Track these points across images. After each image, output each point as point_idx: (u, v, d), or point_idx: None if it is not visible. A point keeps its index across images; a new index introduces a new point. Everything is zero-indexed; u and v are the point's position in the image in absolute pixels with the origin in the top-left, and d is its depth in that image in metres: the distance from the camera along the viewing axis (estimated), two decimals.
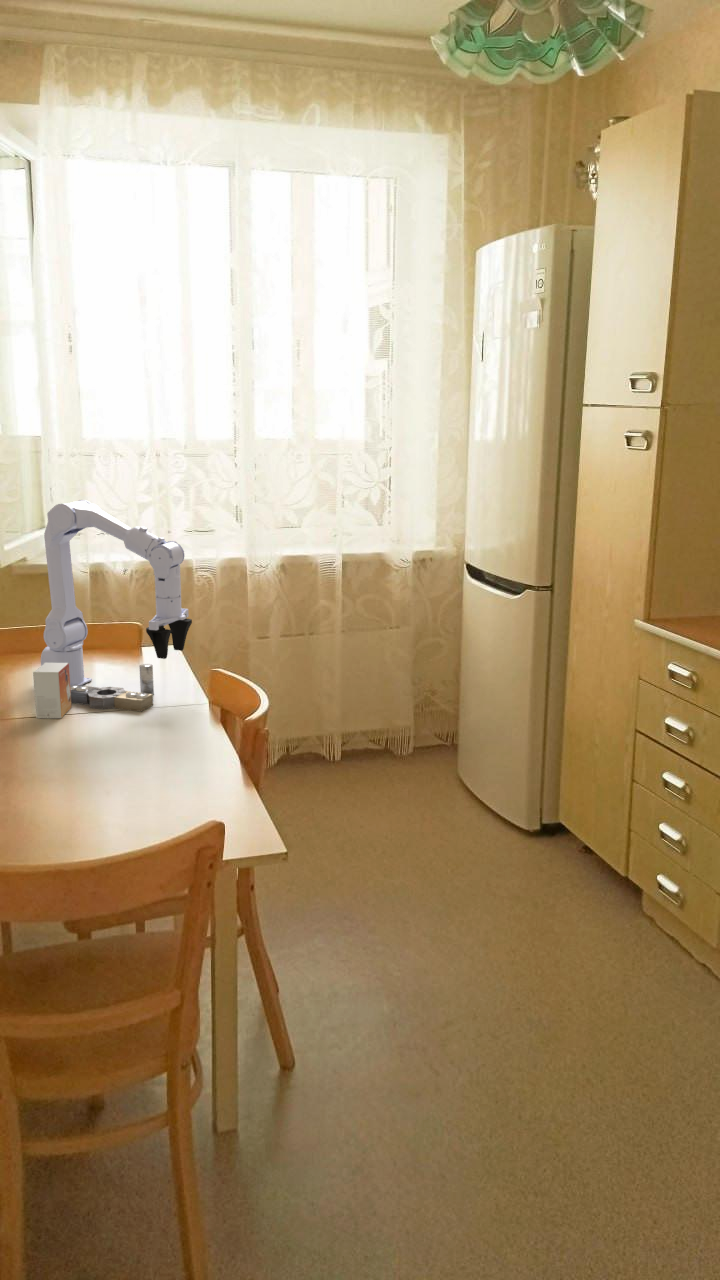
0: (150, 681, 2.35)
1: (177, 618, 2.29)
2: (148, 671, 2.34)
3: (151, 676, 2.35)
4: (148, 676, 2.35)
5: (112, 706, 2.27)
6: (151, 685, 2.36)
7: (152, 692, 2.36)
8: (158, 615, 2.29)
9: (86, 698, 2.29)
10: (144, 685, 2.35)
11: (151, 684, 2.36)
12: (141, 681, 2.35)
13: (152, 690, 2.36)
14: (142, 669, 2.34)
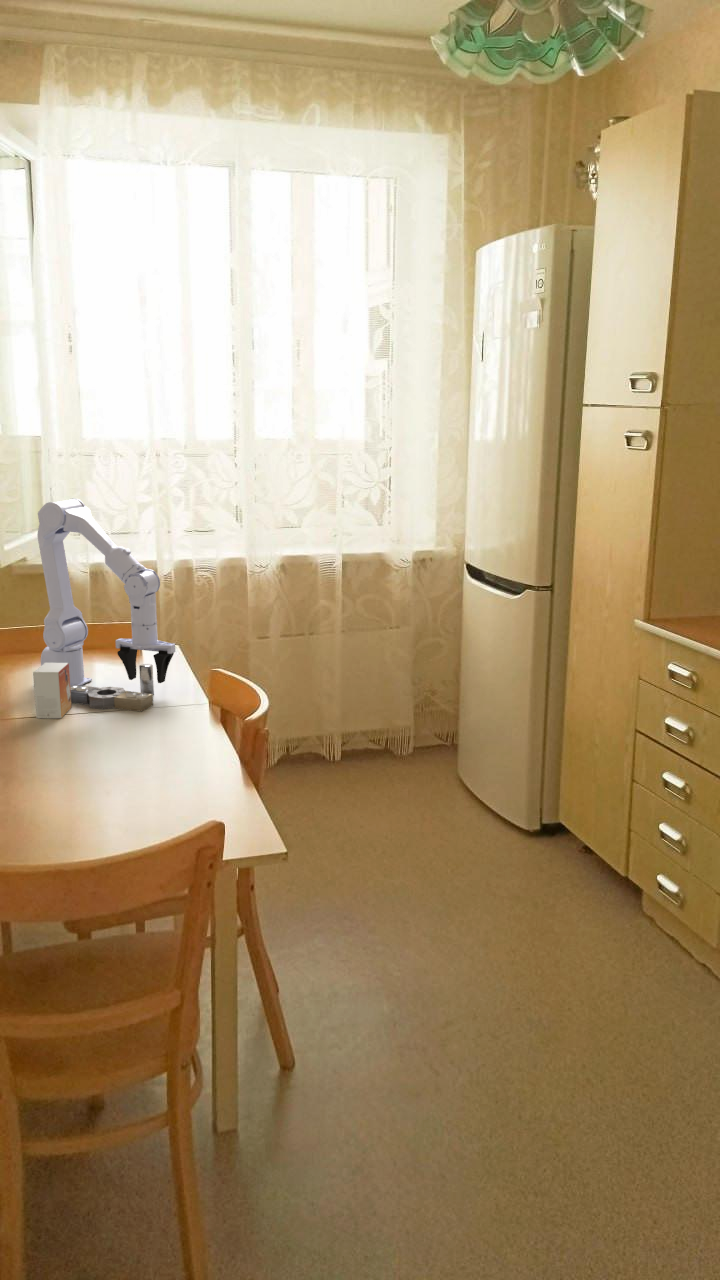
0: (150, 681, 2.35)
1: None
2: (148, 671, 2.34)
3: (151, 676, 2.35)
4: (148, 676, 2.35)
5: (112, 706, 2.27)
6: (151, 685, 2.36)
7: (152, 692, 2.36)
8: None
9: (86, 698, 2.29)
10: (144, 685, 2.35)
11: (151, 684, 2.36)
12: (141, 681, 2.35)
13: (152, 690, 2.36)
14: (142, 669, 2.34)
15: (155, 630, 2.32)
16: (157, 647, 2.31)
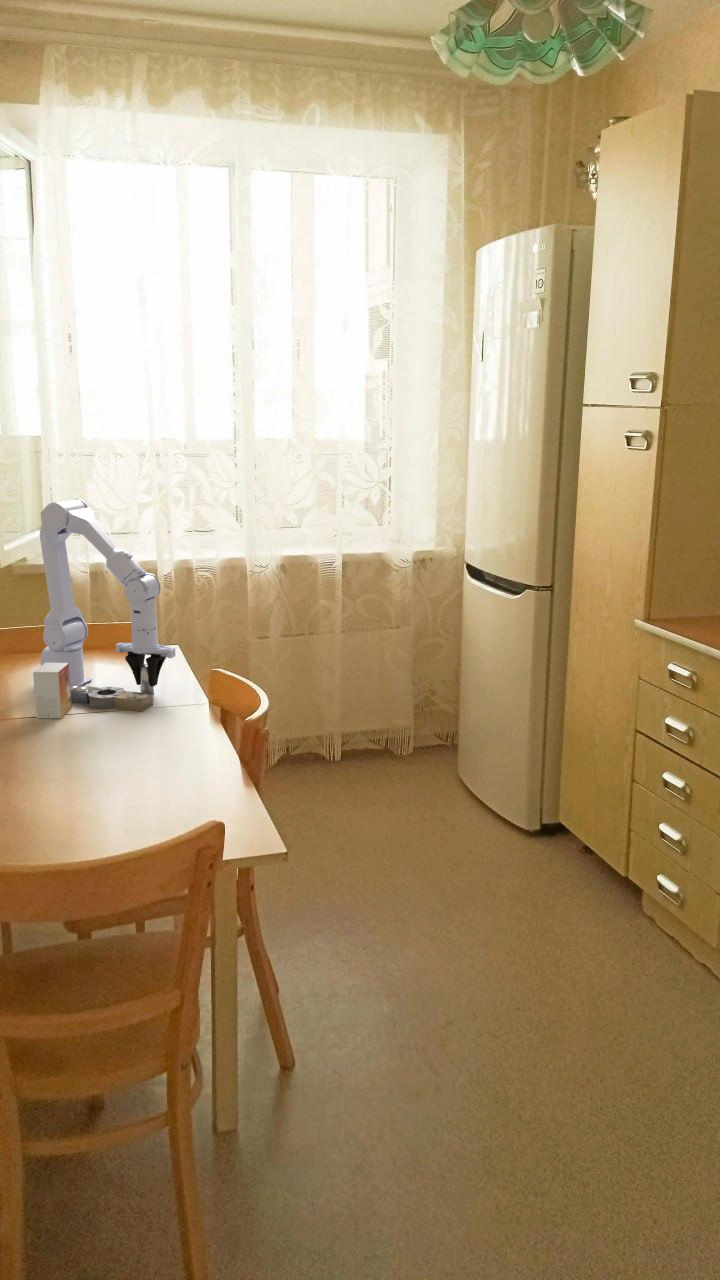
0: None
1: (133, 650, 2.32)
2: (148, 671, 2.34)
3: None
4: (148, 676, 2.35)
5: (112, 706, 2.27)
6: None
7: (152, 692, 2.36)
8: None
9: (86, 698, 2.29)
10: (144, 685, 2.35)
11: None
12: (141, 681, 2.35)
13: (152, 690, 2.36)
14: (142, 669, 2.34)
15: (155, 634, 2.33)
16: (157, 651, 2.31)
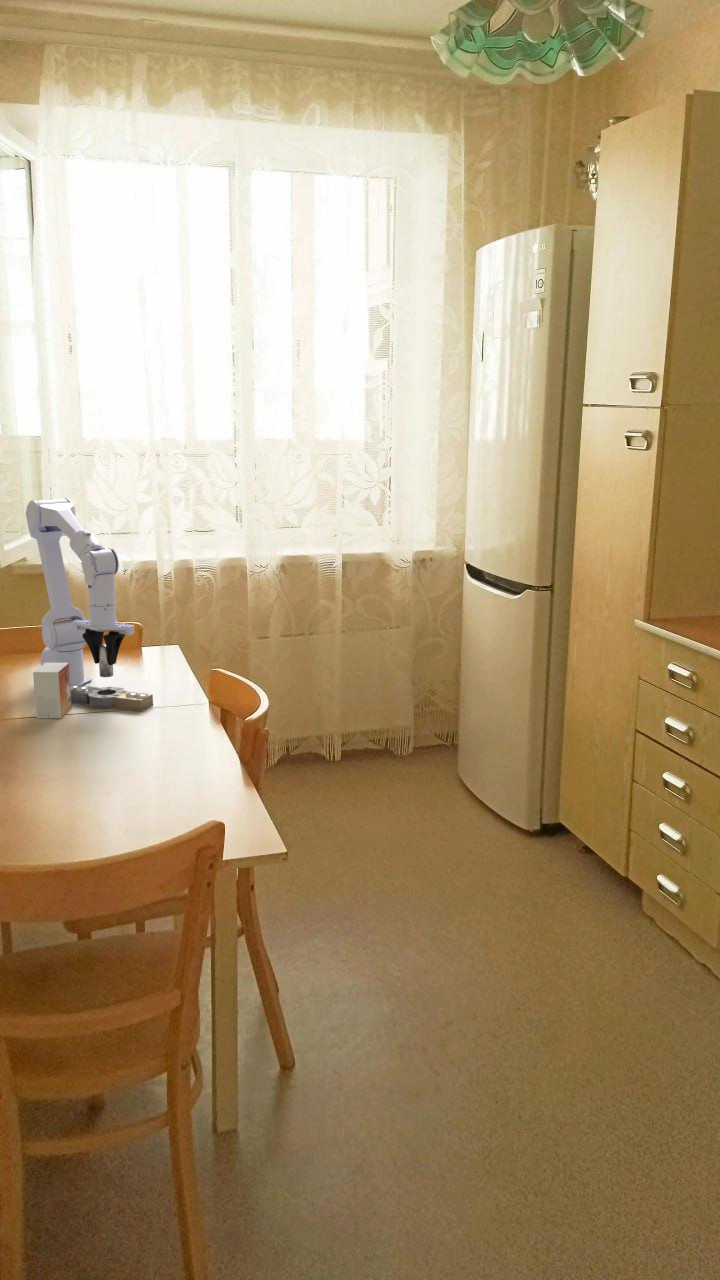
0: None
1: None
2: (106, 651, 2.26)
3: None
4: (106, 656, 2.27)
5: (112, 706, 2.27)
6: (110, 666, 2.27)
7: (111, 673, 2.28)
8: None
9: (86, 698, 2.29)
10: (102, 665, 2.27)
11: None
12: (99, 661, 2.27)
13: (111, 671, 2.28)
14: (100, 649, 2.26)
15: (114, 610, 2.24)
16: (115, 628, 2.23)
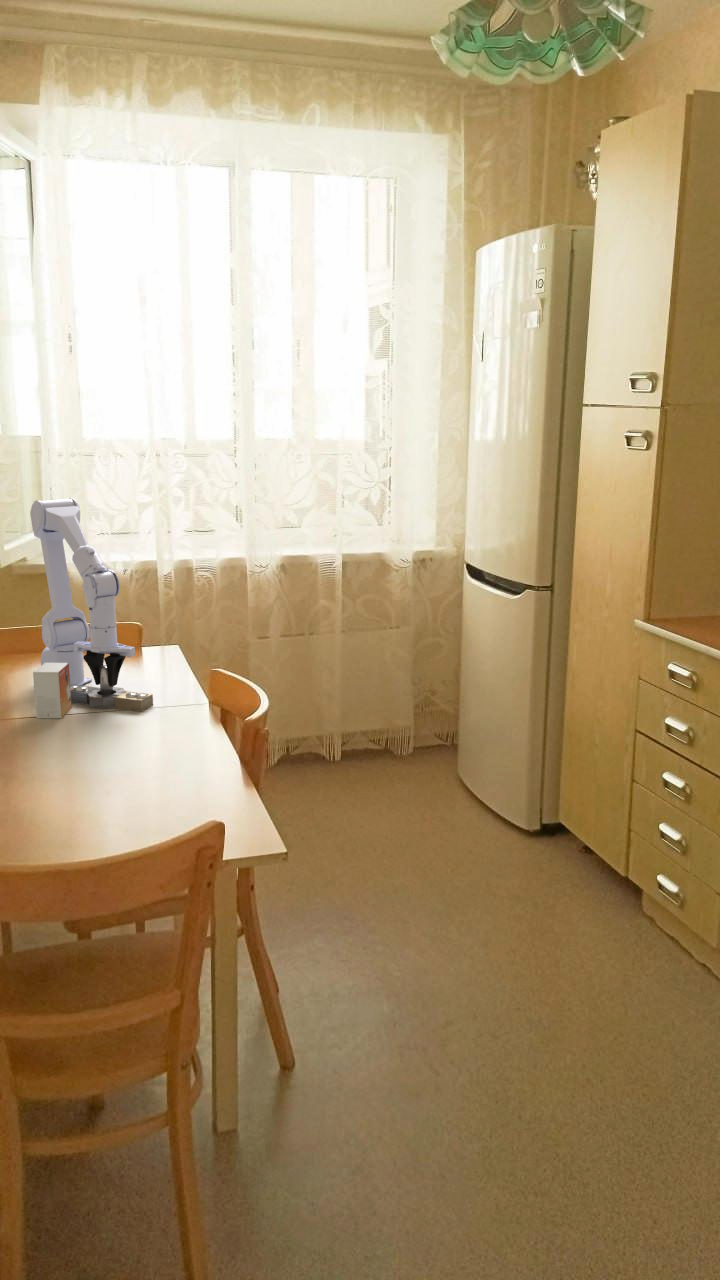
0: None
1: None
2: (106, 672, 2.27)
3: None
4: (107, 678, 2.28)
5: (112, 706, 2.27)
6: (110, 687, 2.29)
7: None
8: None
9: (86, 698, 2.29)
10: (103, 686, 2.28)
11: (110, 686, 2.29)
12: (100, 682, 2.28)
13: (112, 692, 2.29)
14: (100, 670, 2.27)
15: (114, 632, 2.26)
16: (116, 650, 2.24)
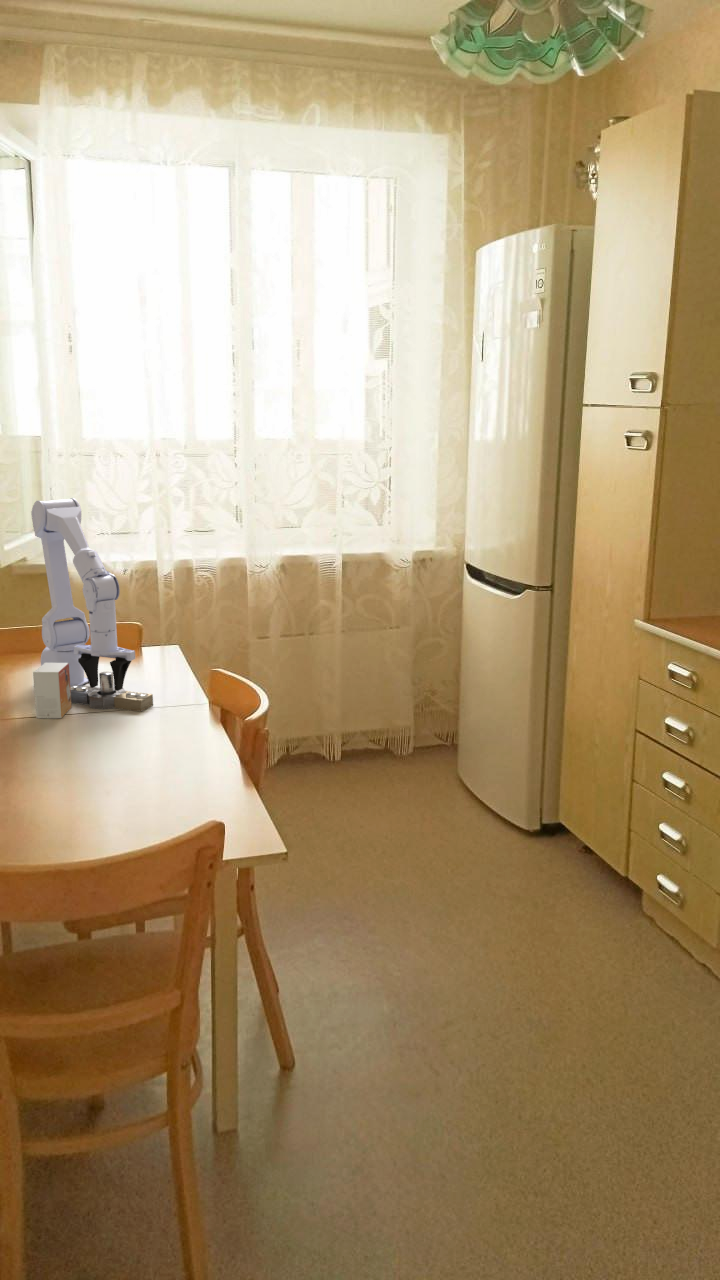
0: (110, 689, 2.29)
1: None
2: (107, 679, 2.28)
3: (111, 684, 2.29)
4: (107, 684, 2.28)
5: (112, 706, 2.27)
6: (111, 693, 2.29)
7: None
8: None
9: (86, 698, 2.29)
10: (103, 693, 2.28)
11: (111, 692, 2.29)
12: (101, 689, 2.29)
13: None
14: (101, 677, 2.28)
15: (115, 636, 2.26)
16: (116, 654, 2.25)
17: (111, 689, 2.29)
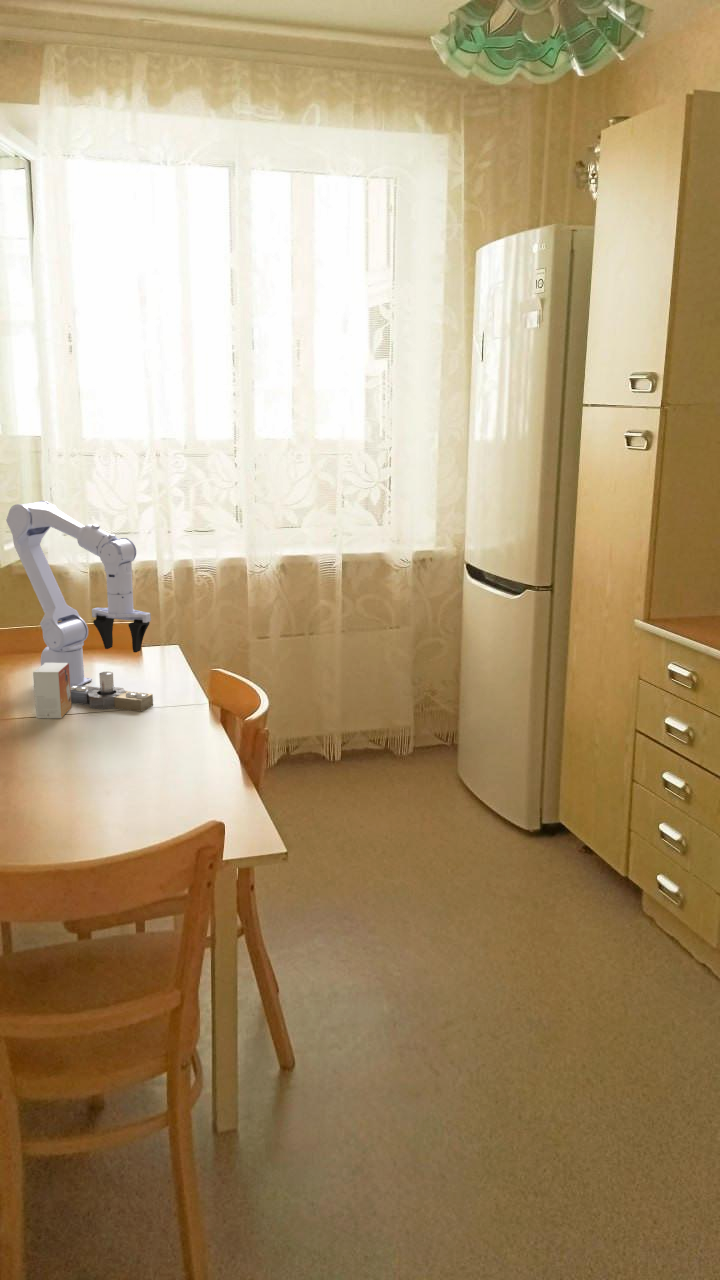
0: (110, 689, 2.29)
1: (109, 614, 2.31)
2: (107, 679, 2.28)
3: (111, 684, 2.29)
4: (107, 685, 2.28)
5: (112, 706, 2.27)
6: (111, 694, 2.29)
7: None
8: None
9: (86, 698, 2.29)
10: (103, 693, 2.28)
11: (111, 692, 2.29)
12: (101, 689, 2.29)
13: None
14: (101, 677, 2.28)
15: (131, 598, 2.32)
16: (132, 616, 2.31)
17: (111, 689, 2.29)
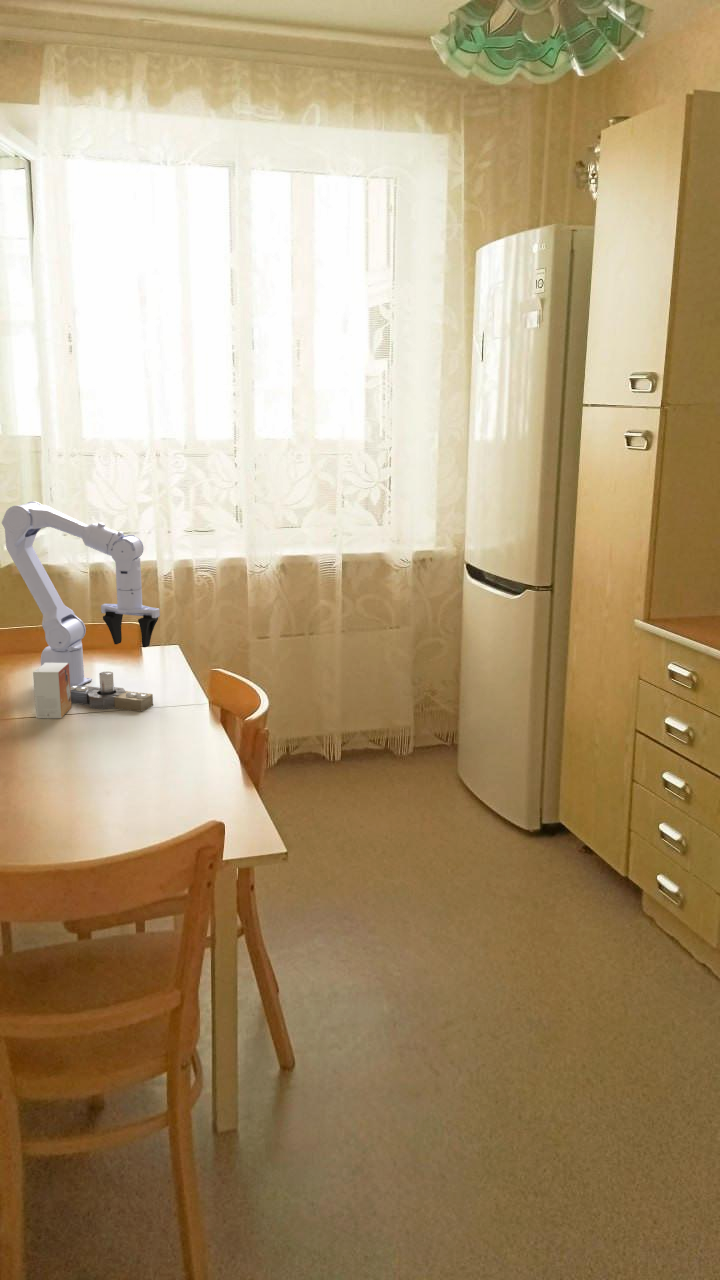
0: (110, 689, 2.29)
1: None
2: (107, 679, 2.28)
3: (111, 684, 2.29)
4: (107, 685, 2.28)
5: (112, 706, 2.27)
6: (111, 694, 2.29)
7: None
8: None
9: (86, 698, 2.29)
10: (103, 693, 2.28)
11: (111, 692, 2.29)
12: (101, 689, 2.29)
13: None
14: (101, 677, 2.28)
15: (140, 594, 2.36)
16: (142, 611, 2.35)
17: (111, 689, 2.29)
